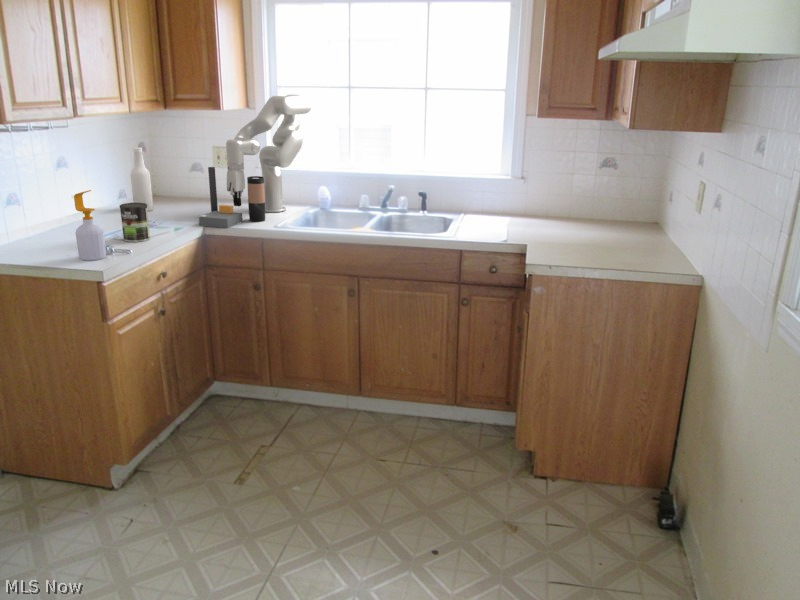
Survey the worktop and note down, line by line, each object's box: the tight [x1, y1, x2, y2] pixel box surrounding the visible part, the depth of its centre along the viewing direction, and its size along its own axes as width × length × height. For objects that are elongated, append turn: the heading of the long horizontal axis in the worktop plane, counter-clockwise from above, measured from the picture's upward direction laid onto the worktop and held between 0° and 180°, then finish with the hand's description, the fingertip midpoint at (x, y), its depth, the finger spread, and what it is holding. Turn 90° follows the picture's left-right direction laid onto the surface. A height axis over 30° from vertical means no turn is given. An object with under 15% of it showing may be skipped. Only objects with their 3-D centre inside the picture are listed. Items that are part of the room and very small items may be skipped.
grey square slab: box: [198, 210, 244, 229], centre depth 292 cm, size 14×14×4 cm
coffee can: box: [119, 202, 151, 243], centre depth 259 cm, size 10×10×14 cm
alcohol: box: [130, 146, 154, 212], centre depth 310 cm, size 9×9×30 cm
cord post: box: [207, 166, 219, 212], centre depth 302 cm, size 8×8×23 cm
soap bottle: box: [73, 189, 107, 262], centre depth 230 cm, size 9×9×25 cm
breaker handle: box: [218, 204, 234, 213], centre depth 295 cm, size 2×6×3 cm, turn 76°
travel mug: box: [246, 175, 266, 223], centre depth 298 cm, size 8×8×20 cm
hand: (237, 205), depth 306 cm, fingers closed
